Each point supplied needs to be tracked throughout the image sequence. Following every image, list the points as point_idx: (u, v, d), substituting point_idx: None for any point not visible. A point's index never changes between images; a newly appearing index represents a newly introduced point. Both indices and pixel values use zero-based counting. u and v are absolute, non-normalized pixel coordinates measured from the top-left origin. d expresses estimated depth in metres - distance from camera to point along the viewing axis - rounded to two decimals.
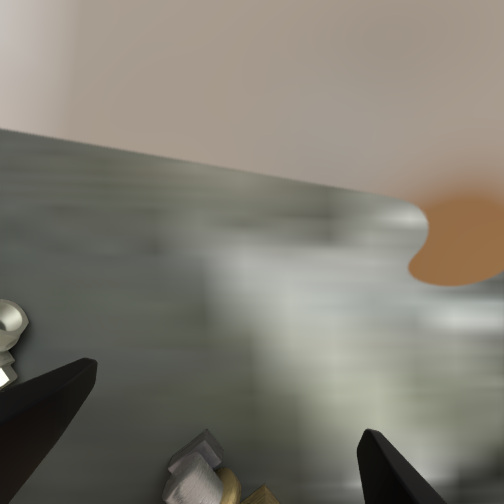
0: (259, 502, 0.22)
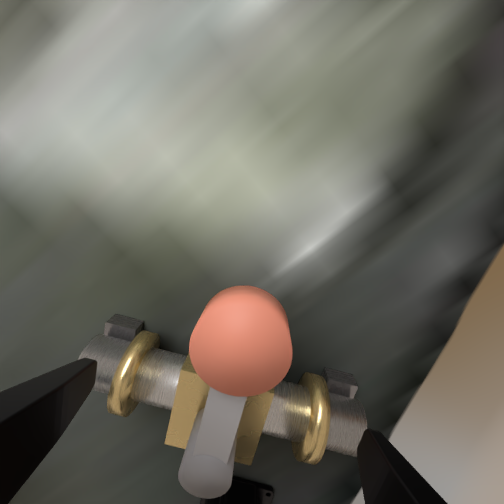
0: None
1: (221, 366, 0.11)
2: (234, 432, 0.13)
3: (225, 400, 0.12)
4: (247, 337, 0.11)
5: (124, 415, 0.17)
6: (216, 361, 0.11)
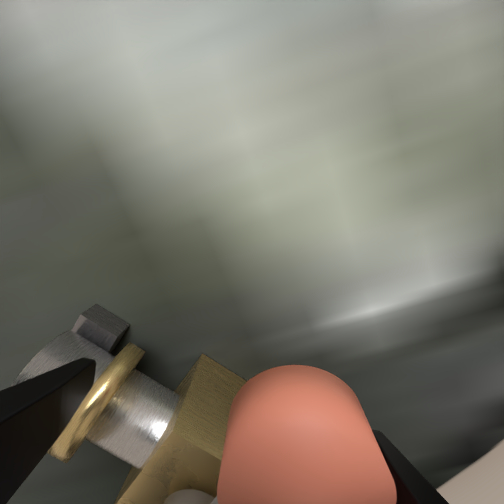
0: (191, 374, 0.15)
1: None
2: None
3: None
4: (328, 482, 0.06)
5: (67, 461, 0.12)
6: (259, 501, 0.07)
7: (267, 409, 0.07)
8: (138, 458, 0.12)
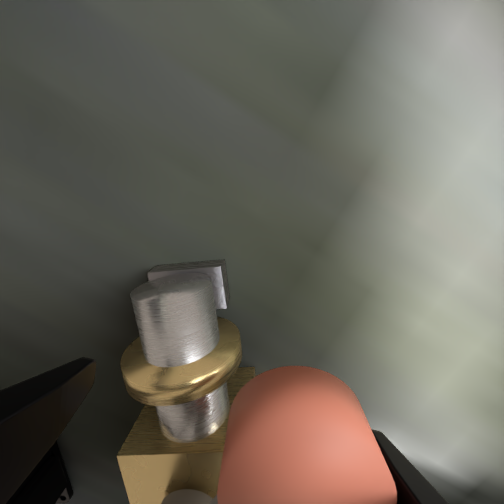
0: (242, 382, 0.15)
1: None
2: None
3: None
4: (329, 483, 0.06)
5: (134, 397, 0.11)
6: (259, 502, 0.07)
7: (268, 410, 0.07)
8: (184, 436, 0.12)
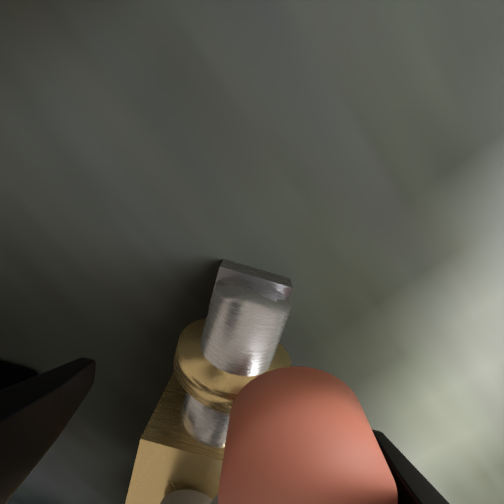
0: None
1: None
2: None
3: None
4: (330, 485, 0.06)
5: (187, 391, 0.11)
6: (260, 503, 0.07)
7: (270, 410, 0.07)
8: (211, 440, 0.12)
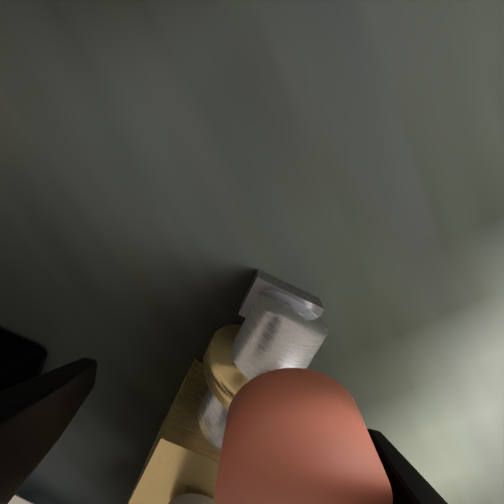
0: None
1: None
2: None
3: None
4: (324, 485, 0.06)
5: (219, 399, 0.11)
6: None
7: (262, 413, 0.07)
8: None
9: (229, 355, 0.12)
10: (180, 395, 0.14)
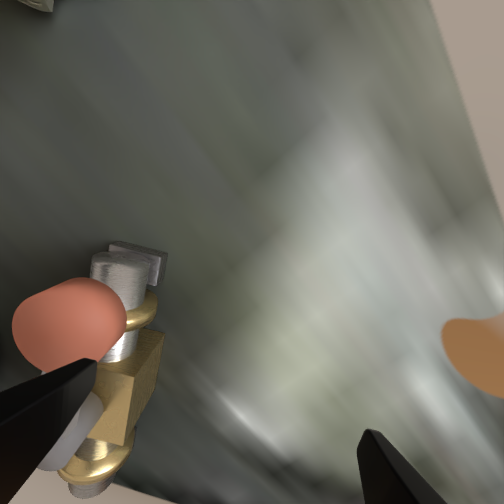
0: (151, 340, 0.21)
1: (42, 347, 0.12)
2: None
3: None
4: (62, 322, 0.12)
5: None
6: (37, 343, 0.12)
7: None
8: None
9: None
10: None
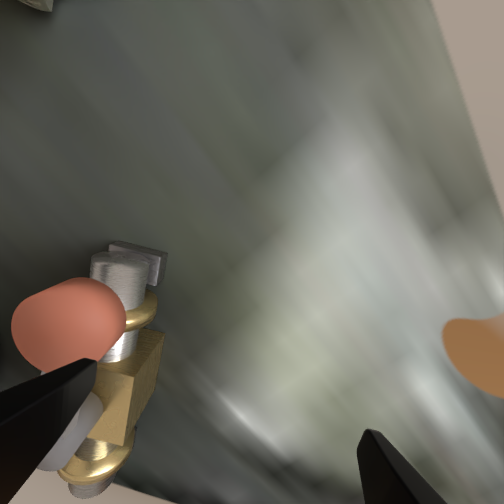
0: (151, 340, 0.21)
1: (41, 348, 0.12)
2: None
3: None
4: (61, 322, 0.12)
5: None
6: (36, 343, 0.12)
7: None
8: None
9: None
10: None
